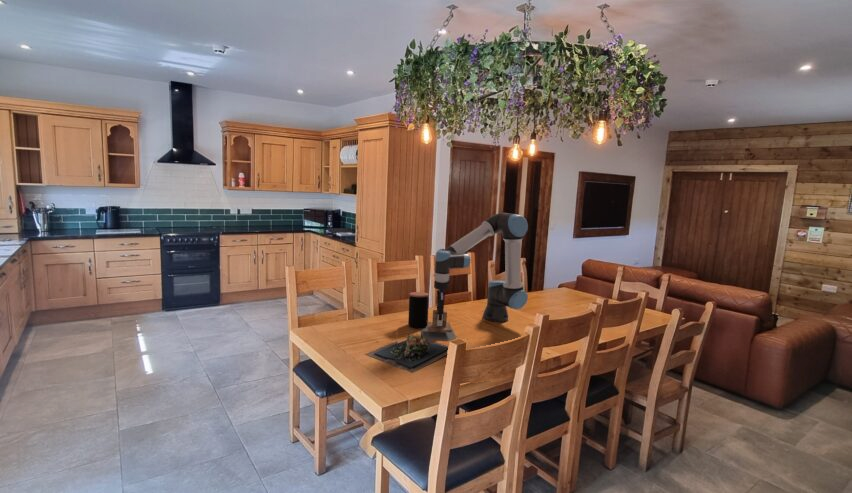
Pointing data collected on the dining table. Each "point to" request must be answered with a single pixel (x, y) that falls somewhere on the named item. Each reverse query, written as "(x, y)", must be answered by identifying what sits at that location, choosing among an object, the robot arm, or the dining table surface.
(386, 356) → the plated dish
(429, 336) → the mat
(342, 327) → the dining table surface
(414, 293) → the coffee jar
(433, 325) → the lid
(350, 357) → the dining table surface
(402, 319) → the dining table surface
